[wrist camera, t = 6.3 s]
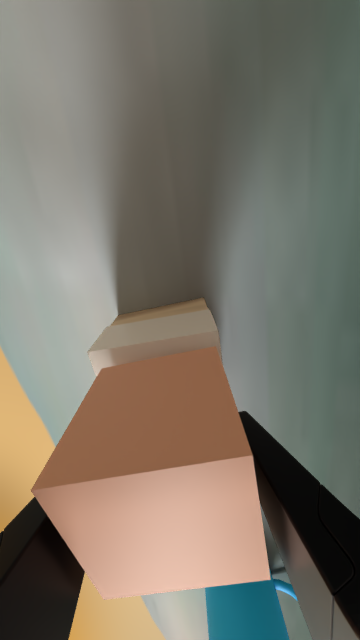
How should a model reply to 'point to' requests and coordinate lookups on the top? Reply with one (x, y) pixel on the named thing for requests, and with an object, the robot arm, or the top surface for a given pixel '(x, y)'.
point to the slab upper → (154, 339)
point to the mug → (247, 611)
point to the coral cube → (158, 480)
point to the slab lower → (162, 311)
